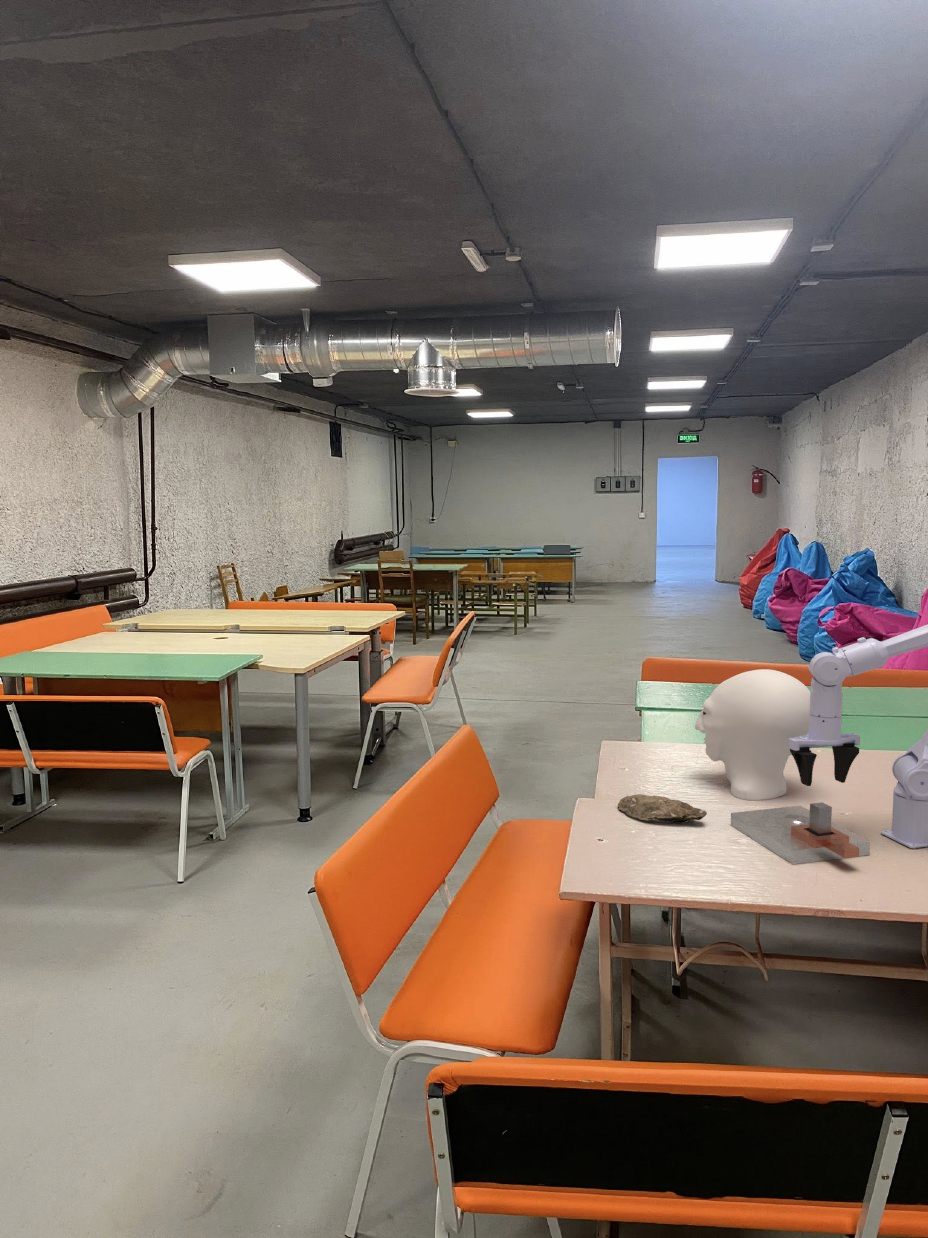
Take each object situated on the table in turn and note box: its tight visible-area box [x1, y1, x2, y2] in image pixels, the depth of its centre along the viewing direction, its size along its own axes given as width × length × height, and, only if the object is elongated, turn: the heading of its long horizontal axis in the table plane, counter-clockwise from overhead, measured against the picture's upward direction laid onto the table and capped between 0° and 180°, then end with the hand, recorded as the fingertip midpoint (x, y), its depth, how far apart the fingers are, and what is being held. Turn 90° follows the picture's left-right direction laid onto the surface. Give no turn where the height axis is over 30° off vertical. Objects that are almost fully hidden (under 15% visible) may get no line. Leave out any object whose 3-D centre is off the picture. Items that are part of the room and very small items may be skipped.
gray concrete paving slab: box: [730, 805, 871, 865], centre depth 151 cm, size 16×25×4 cm, turn 13°
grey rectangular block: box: [809, 801, 833, 836], centre depth 147 cm, size 3×3×9 cm
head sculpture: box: [694, 668, 811, 801], centre depth 183 cm, size 17×27×28 cm, turn 52°
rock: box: [617, 793, 708, 824], centre depth 167 cm, size 18×11×4 cm, turn 70°
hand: (823, 783), depth 156 cm, fingers open, 7 cm apart
